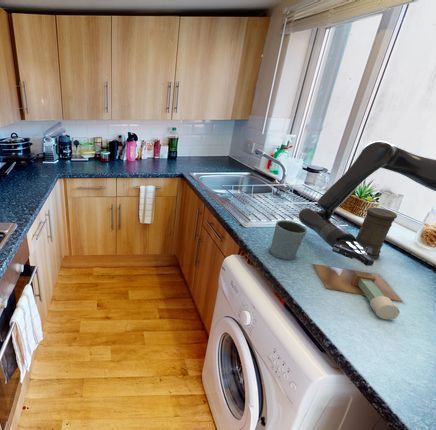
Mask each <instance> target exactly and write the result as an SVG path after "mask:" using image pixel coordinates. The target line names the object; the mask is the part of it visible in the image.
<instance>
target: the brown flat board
mask: <svg viewBox="0 0 436 430" xmlns="http://www.w3.org/2000/svg"><path fill="white" fill-rule="evenodd" d="M312 266H313V268H314V269H315V271H316V273H317V274H318V276H319V278H320V280H321V281H322V284H323V285H324V287H325V289H327V290H333V291H337V292H342V293H343V292H344V293H349V294H353V295H359V296H365V297H367V296H366V295H365V294H364V292H363V291H362V290H361V288H360V287H358V286H353V285H352V284H351V280H352V278H353V275H354V273H355V272H356V273H362V274H368V275H373V276H374V277H375V278H376V280H375V282H374V284H375V285H376V287H377V288H378V289H379V290H380V291H381V293H382V294H383V295H384V296H385V297H388V298H389V299H390V300H391V301H392V302H399V303H403V300H402V299H401V297H400V296H398V294H397V293H396V292H395V291H394V290H393V289H392V287H391V286H390V285H389V284H388V283H387V282H386V281H385V279H383V277H382V276H381V275H380V274H378V273H372V272H366V271H360V270H354V269H348V268H341V267H334V266H328V265H322V264H316V263H313V265H312Z"/></svg>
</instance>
